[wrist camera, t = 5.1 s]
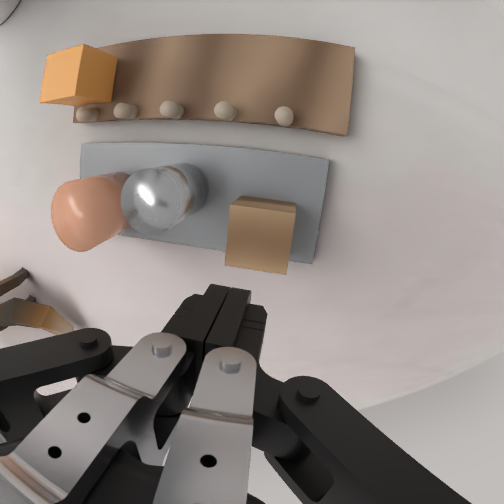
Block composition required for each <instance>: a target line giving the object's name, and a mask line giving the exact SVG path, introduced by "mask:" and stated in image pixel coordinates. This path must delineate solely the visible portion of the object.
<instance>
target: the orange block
mask: <svg viewBox="0 0 504 504" xmlns="http://www.w3.org/2000/svg"><path fill="white" fill-rule="evenodd" d="M117 60H118V57H115V56H113V55H110V54H108V53H106V52H103V51H101V50H98V49H96V48H93V47H90V46H88V45H85V44H82V45H79V46H75V47H72V48H68V49H65V50H62V51H59V52H56V53H53V54H50V55H47V60H46V65H45V70H44V76H43V82H42V88H41V95H40V103H50V104H62V105H72V106H80V105H87V104H95V103H104V102H111V100H112V92H113V85H114V78H115V72H116V66H117Z"/></svg>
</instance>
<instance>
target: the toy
mask: <svg viewBox="0 0 504 504" xmlns="http://www.w3.org/2000/svg"><path fill="white" fill-rule="evenodd" d="M28 276H29V274H28V271H27V270H26V269H24V268H23V267H22V269H20V270H19V271H18V272H16V273H15V274H14V275H12V276H10V277H8V278H6V279H4V280H2V281H0V296H2V295H3V294H5V293H7V292H8V291H10V290H12V289H14V288H15V287H17V286H19V285H20V284H21V283H22V282H23V281H24V280H25V279H26V278H27V277H28ZM15 325H19V326H26V327H34V328H42V329H44V330H46V331H49V332H51V333H53V334H56V335H60V334H64V333H68V332H72V331H73V328H74V327H73V326H72V325H71V324H70V323H69V322H67V321H66V320H65V319H64V318H63V317H62V316H61V315H60V314H59V313H57V312H56V311H55V310H54V309H53V308H52V307H51V306H47V305H43V304H39V303H36V300H35V298H34V297H32V296H30V295H29V297H28V298H27V299H26V300H23V299H19V298H13V299H11V300H8V301H6V302H4V303H2V304H0V331H2V330H4V329H6V328H7V327H8V326H15Z"/></svg>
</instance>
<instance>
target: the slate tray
mask: <svg viewBox="0 0 504 504" xmlns="http://www.w3.org/2000/svg"><path fill="white" fill-rule="evenodd" d="M181 163H187V164H191V165H194V166H196V167H197V168H199V169H200V170H201V171H202V172H203V174H204V175H205V177H206V179H207V181H208V187H209V192H208V197H207V200H206V202H205V204H204V205H203V206H202V207H201V208H200V209H199V210H198V211H196V212H195V213H193V214H192V215H190V216H188V217H187V218H185V219H184V220H182V221H181V222H179V223H178V224H176V225H174V226H173V227H171V228H170V229H168V230H167V231H165V232H163V233H161V234H158V235H146V234H143V233H140V232H138V231H137V230H135V229H134V228H133V227H130V228H128V229H127V230H125V231H123V232H121V233H119V234H117V235H123V236H129V237H136V238H142V239H149V240H155V241H162V242H168V243H175V244H181V245H188V246H195V247H201V248H208V249H214V250H221V251H226V244H227V233H228V222H229V211H230V204H231V203H233V202H234V201H235V200H236V199H237V198H239V197H240V196H241V195H242V196H250V197H258V198H265V199H273V200H280V201H287V202H294V203H295V205H296V215H295V222H294V229H293V235H292V242H291V248H290V254H289V261H294V262H301V263H308V264H312V263H313V258H314V252H315V247H316V241H317V236H318V230H319V224H320V218H321V212H322V206H323V200H324V194H325V187H326V180H327V173H328V166H329V160H328V159H322V158H316V157H309V156H303V155H296V154H289V153H281V152H274V151H265V150H256V149H247V148H237V147H225V146H213V145H198V144H178V143H141V142H118V143H83V144H81V157H80V179H83V178H88V177H93V176H98V175H103V174H109V173H114V172H123V173H126V174H128V175H130V176H131V175H132V174H133V173H135V172H137V171H139V170H141V169H147V168H153V167H160V166H167V165H174V164H181Z"/></svg>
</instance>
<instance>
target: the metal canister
mask: <svg viewBox="0 0 504 504" xmlns="http://www.w3.org/2000/svg"><path fill="white" fill-rule="evenodd" d="M208 192H209V187H208V181H207V179H206V177H205V175H204V174H203V172H202V171H201V170H200V169H199V168H197V167H196V166H194V165H191V164H187V163H181V164H174V165H167V166H160V167H153V168H147V169H141V170H139V171H137V172H135V173H133V174H132V175H131V176H130V177H129V178H128V179H127V180H126V182H125V184H124V186H123V188H122V192H121V208H122V212H123V214H124V217H125V219H126V220H127V222H128V223H129V224H130V225H131V226H132V227H133V228H134V229H135V230H137V231H138V232H140V233H143V234H146V235H158V234H161V233H163V232H165V231H167V230H168V229H170V228H171V227H173V226H174V225H176V224H178V223H179V222H181V221H182V220H184V219H185V218H187V217H188V216H190V215H192V214H193V213H195V212H196V211H198V210H199V209H200V208H201V207H202V206H203V205H204V204H205V202H206V200H207V197H208Z"/></svg>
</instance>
